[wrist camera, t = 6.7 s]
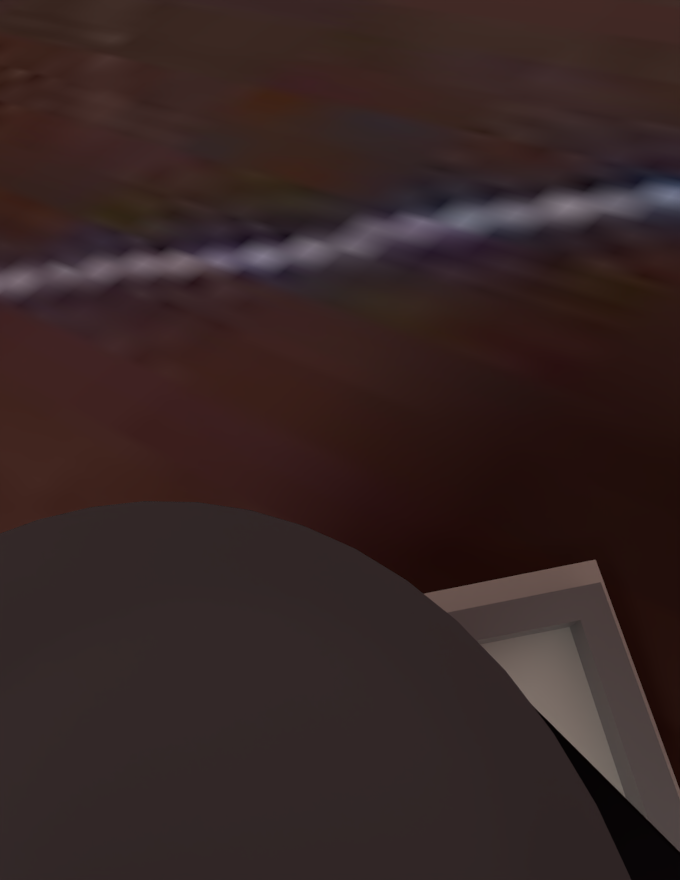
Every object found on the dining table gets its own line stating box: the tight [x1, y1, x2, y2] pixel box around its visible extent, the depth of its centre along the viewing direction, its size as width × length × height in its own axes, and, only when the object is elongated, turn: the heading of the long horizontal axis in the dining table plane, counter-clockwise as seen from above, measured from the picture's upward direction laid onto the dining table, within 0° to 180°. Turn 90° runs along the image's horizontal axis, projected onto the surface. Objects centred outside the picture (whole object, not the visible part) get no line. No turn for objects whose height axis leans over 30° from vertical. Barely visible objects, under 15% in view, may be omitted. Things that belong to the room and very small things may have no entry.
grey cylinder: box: [0, 501, 631, 880], centre depth 8 cm, size 5×5×12 cm
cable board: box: [424, 560, 680, 852], centre depth 19 cm, size 23×11×2 cm, turn 100°
